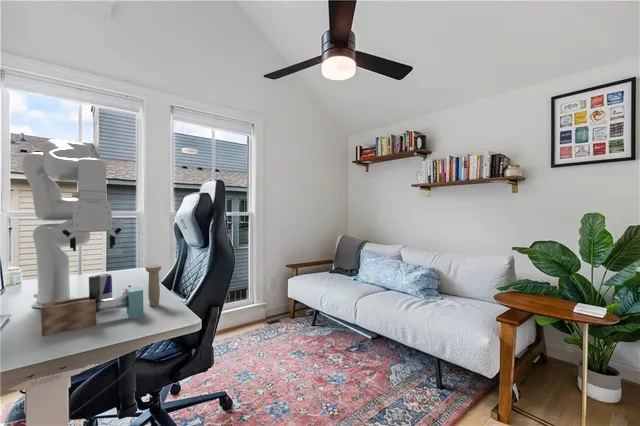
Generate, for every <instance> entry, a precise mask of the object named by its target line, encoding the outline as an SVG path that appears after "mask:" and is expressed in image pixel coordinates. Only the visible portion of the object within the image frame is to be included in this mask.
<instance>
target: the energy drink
mask: <svg viewBox="0 0 640 426" xmlns="http://www.w3.org/2000/svg"><path fill="white" fill-rule="evenodd" d="M96 276H100V290H101V300H103V299H109V298H113V276H112V274H111V273H103V274H98V275H96Z"/></svg>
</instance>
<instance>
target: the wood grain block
mask: <svg viewBox="0 0 640 426" xmlns="http://www.w3.org/2000/svg"><path fill="white" fill-rule="evenodd" d="M40 314H41V315H40V317H41V319H40V321H41V322H40V323H41V337H44V336H49V335H53V334H58V333H63V332H68V331H74V330H79V329H84V328H88V326H89V327H92V326H93V325H94V326H97V313H96V299H92V300H89V296H84V297H83V296H82V297H75V299H69V300H63V301H56V302H50V303H43V304H42V307H41V308H40ZM83 327H84V328H83ZM78 328H79V329H78Z"/></svg>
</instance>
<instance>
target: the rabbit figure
mask: <svg viewBox="0 0 640 426" xmlns="http://www.w3.org/2000/svg"><path fill="white" fill-rule="evenodd" d="M133 286H134V285H130V284H129V285H128V286H124V287H123V288H122V290H123V291H122V293H121V294H122V295H121V296H126V288H127V287H133Z"/></svg>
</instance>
